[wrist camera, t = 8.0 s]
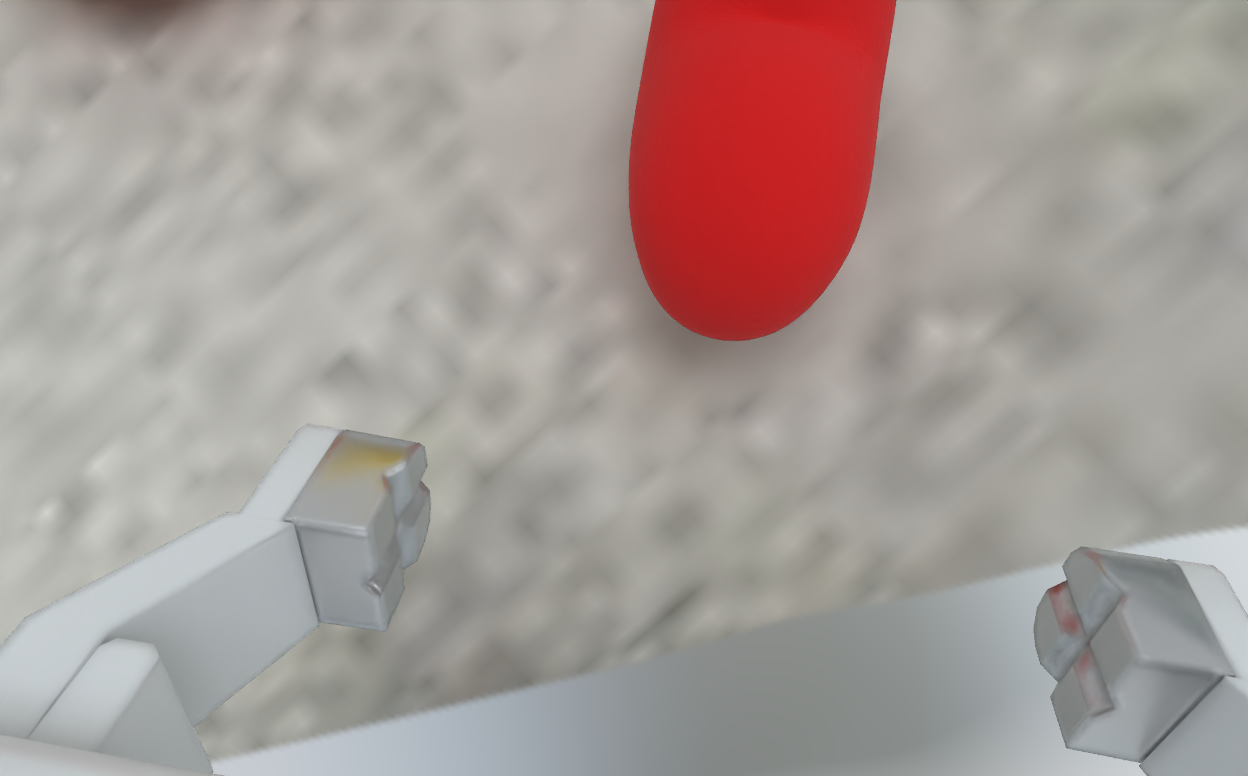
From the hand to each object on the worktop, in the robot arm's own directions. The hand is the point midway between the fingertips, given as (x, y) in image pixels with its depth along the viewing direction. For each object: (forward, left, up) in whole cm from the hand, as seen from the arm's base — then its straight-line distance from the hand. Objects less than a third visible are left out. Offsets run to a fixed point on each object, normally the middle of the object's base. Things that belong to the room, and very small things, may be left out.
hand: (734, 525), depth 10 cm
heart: (0, -10, -13) cm, 16 cm away
